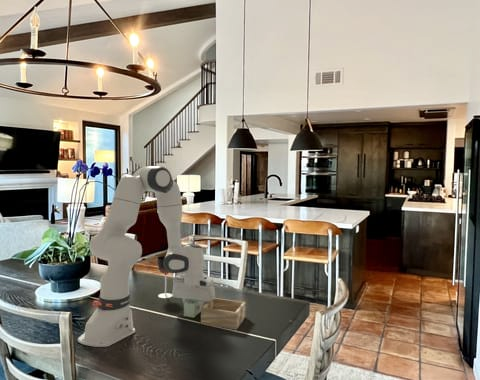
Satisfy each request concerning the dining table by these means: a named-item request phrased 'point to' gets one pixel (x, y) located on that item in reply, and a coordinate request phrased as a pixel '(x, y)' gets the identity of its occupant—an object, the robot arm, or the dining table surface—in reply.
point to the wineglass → (162, 269)
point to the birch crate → (223, 313)
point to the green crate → (191, 308)
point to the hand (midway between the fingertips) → (193, 308)
